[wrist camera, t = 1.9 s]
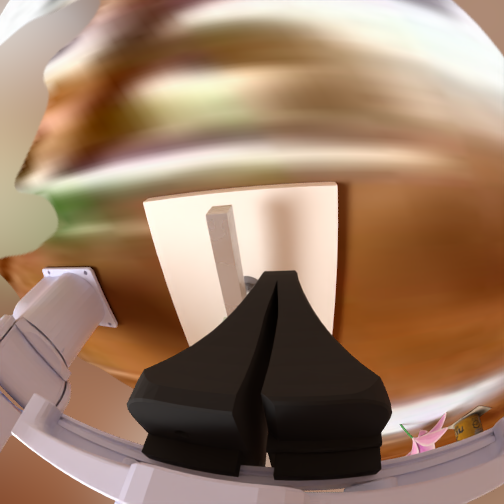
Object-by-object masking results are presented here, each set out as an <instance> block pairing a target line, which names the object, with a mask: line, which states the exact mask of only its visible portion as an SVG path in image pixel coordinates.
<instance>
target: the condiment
mask: <svg viewBox="0 0 504 504" xmlns="http://www.w3.org/2000/svg"><path fill="white" fill-rule="evenodd" d="M490 409H491V408H489V407H484V406H478V407H477V408H475V409H474V410H473V411H472V412H470V413H469V414H467V415H466V416H464V417H463V418H461V419H459V420H458V421H457V422H455V423H454V424H452V425H451V426H449V427H448V429H454V430H455V435H456V440H457V442H458V441H461V440H463V439H466V438H469V437H471V436H474V435H476V434H479V433H481V432H484V431H483V428H482V424H481V421H480V416H481V415H483V414H484V413H485V412H487V411H488V410H490ZM475 411H476V412H475ZM473 412H474V413H473Z"/></svg>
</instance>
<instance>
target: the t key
mask: <svg viewBox="0 0 504 504" xmlns="http://www.w3.org/2000/svg"><path fill="white" fill-rule="evenodd" d="M205 216H206V221H207V226H208V231H209V236H210V240H211V245H212V250H213V255H214V260H215V264H216V269H217V273H218V278H219V282H220V287H221V291H222V296H223V300H224V304H225V309H226V313H227V317H228V316H229V315H230V314H231V313H232V312H233V311H234V310H235V308H236V307H237V306H238V305H239V304H240V303H241V302H242V301H243V299H244V298H245V297H246V295H247V294H248V293H249V292H250V290H251V289H252V288H253V286H254V285H252V284H250V283H245V281H244V275H243V269H242V263H241V257H240V251H239V245H238V238H237V232H236V226H235V219H234V213H233V207H232V205H221V206H212V207H211V208H210V210H209V211H208V212H207V214H206V215H205Z"/></svg>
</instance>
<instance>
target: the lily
mask: <svg viewBox="0 0 504 504" xmlns="http://www.w3.org/2000/svg"><path fill="white" fill-rule="evenodd" d="M445 418H446V413H445V414H444V415H443V416H442V418H441V419H440V420H439V422H438V423H437V424H436V425H435V426H434V427H433V428H432V429H431V430H430V431H429V432H428V431H426V430H420V432H419V435H418V437H417V438H413V437H412V436H411V435H410V434H409V433H408V432H407V430H406V429H405V428H404V427H403V426H402V424H400V426H401V427H402V428H403V430H404V431H405V432H406V433H407V434H408V435H409V436H410V437H411V438H412V439H413V447H412V451H411V452H410V453H408V454H407V455H406V456H409V455H413V454H417V453H421V452H425V451H429V450H432V449H435V444H434V443H435V442H436V441H437V440H438V439H439V438H440V437H441V436H442V435H443V434H444V433H445V432H446V430H447V429H448V427H446V428H443V429H441V428H442V426H443V424H444V421H445ZM427 432H428V433H427ZM426 433H427V434H426ZM424 434H425V435H424Z"/></svg>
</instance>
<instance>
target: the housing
mask: <svg viewBox="0 0 504 504" xmlns="http://www.w3.org/2000/svg"><path fill="white" fill-rule="evenodd" d="M143 204H144V208H145V212H146V216H147V220H148V223H149V227H150V231H151V234H152V238H153V241H154V245H155V248H156V251H157V255H158V258H159V261H160V264H161V268H162V271H163V274H164V277H165V280H166V283H167V286H168V289H169V292H170V295H171V298H172V301H173V303H174V306H175V309H176V312H177V315H178V317H179V320H180V323H181V325H182V328H183V331H184V333H185V336H186V339H187V341H188V344H189V346H192V345H193V344H195V343H196V342H198V341H199V340H200V339H202V338H203V337H205V336H206V335H207V334H209V333H210V332H211V331H213V330H214V329H215V328H216V327H217V326H218V325H220V324H221V323H222V321H223V318H224V317H227V313H226V309H225V304H224V300H223V296H222V291H221V287H220V282H219V278H218V273H217V269H216V264H215V260H214V255H213V250H212V245H211V240H210V236H209V231H208V226H207V221H206V216H205V215H206V214H207V212H208V211H209V210H210V208H211V207H212V206H221V205H232V207H233V213H234V219H235V226H236V232H237V238H238V245H239V251H240V257H241V263H242V269H243V275H244V281H245V283H250V284H252V285H255V284H256V282H257V281H258V279H259V278H260V276H261V275H262V273H263V272H264V271H288V270H295V271H296V272H297V274H298V279H299V282H300V285H301V287H302V290H303V292H304V294H305V296H306V298H307V300H308V302H309V303H310V305H311V307H312V308H313V310H314V312H315V313H316V315H317V316H318V318H319V319H320V321H321V322H322V323H323V325H324V326H325V327H326V329H327V330H328V331H329V332H330V333H331V335H332V331H333V320H334V308H335V293H336V275H337V248H338V186H337V184H336V182H311V183H292V184H275V185H261V186H249V187H238V188H227V189H217V190H208V191H199V192H191V193H183V194H175V195H167V196H160V197H153V198H148V199H147V200H146V201H144V202H143Z"/></svg>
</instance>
